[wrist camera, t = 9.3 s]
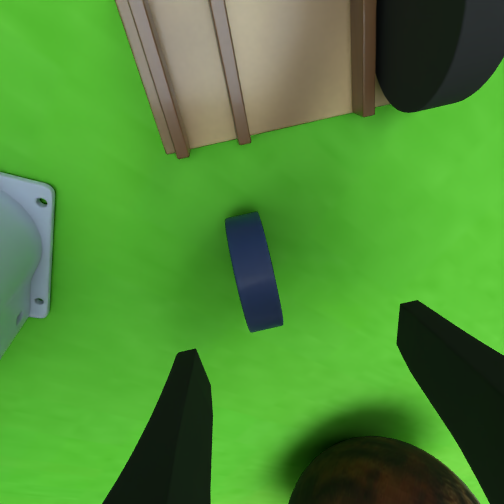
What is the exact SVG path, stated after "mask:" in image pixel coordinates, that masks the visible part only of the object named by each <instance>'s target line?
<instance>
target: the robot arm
mask: <svg viewBox="0 0 504 504" xmlns="http://www.w3.org/2000/svg"><path fill="white" fill-rule="evenodd" d="M39 198H43V199H45V200H46V201H47V204H43V203H42V202H41V201H40V199H39ZM54 207H55V191H54V189H53V188H52V187H51V186H50V185H48V184H46V183H42V182H38V181H34V180H30V179H26V178H22V177H18V176H14V175H10V174H6V173H2V172H0V359H1V357H2V356H3V354H4V353H5V351H6V350H7V348H8V347H9V345H10V344H11V342H12V341H13V339H14V338H15V336H16V335H17V333H18V332H19V330H20V329H21V327H22V326H23V324H24V323H25V321H26V320H27V318H28V317H34V318H45V317H46V316H47V315H48V313H49V311H50V291H51V270H52V249H53V228H54ZM38 298H40V299H42V300H43V301H41V300H39V299H38ZM397 346H398V348H399V350H400V352H401V354H402V356H403V358H404V360H405V362H406V364H407V366H408V368H409V370H410V372H411V373H412V375H413V376H414V378H415V380H416V381H417V383H418V384H419V386H420V387H421V389H422V390H423V392H424V393H425V395H426V396H427V398H428V399H429V401H430V402H431V404H432V405H433V407H434V408H435V410H436V411H437V413H438V414H439V416H440V417H441V419H442V420H443V422H444V423H445V425H446V426H447V428H448V429H449V431H450V432H451V434H452V436H453V437H454V439H455V440H456V442H457V444H458V445H459V447H460V449H461V451H462V452H463V454H464V456H465V458H466V460H467V462H468V463H469V465H470V467H471V469H472V471H473V473H474V474H475V476H476V478H477V480H478V482H479V484H480V486H481V488H482V489H483V491H484V493H485V495H486V497H487V499H488V501H489V503H490V504H504V355H502V354H500V353H498V352H497V351H495V350H494V349H492V348H490V347H489V346H487V345H485V344H484V343H482V342H480V341H479V340H477V339H476V338H474V337H473V336H471V335H469V334H468V333H466V332H465V331H463V330H462V329H460V328H459V327H457V326H455V325H454V324H452V323H451V322H449V321H448V320H446V319H445V318H443V317H442V316H440V315H439V314H438V313H436V312H435V311H433V310H432V309H430V308H429V307H427V306H426V305H424V304H423V303H421V302H420V301H418V300H416V301H411V302H407V303H402V304H400V311H399V322H398V333H397ZM212 426H213V410H212V396H211V385H210V382H209V380H208V377H207V375H206V372H205V370H204V367H203V365H202V362H201V360H200V358H199V355H198V353H197V350H196V349H192V350H187V351H182V352H179V353H178V354H177V355H176V358H175V360H174V363H173V366H172V368H171V371H170V374H169V376H168V379H167V381H166V384H165V386H164V388H163V391H162V393H161V395H160V398H159V400H158V402H157V404H156V407H155V409H154V411H153V413H152V415H151V417H150V420H149V422H148V424H147V426H146V428H145V430H144V432H143V434H142V435H141V437H140V439H139V441H138V443H137V445H136V447H135V449H134V451H133V453H132V455H131V456H130V458H129V460H128V462H127V464H126V465H125V467H124V469H123V471H122V472H121V474H120V476H119V477H118V479H117V481H116V482H115V484H114V486H113V487H112V489H111V490H110V492H109V494H108V495H107V497H106V498H105V500H104V501H103V503H102V504H210V484H211V456H212Z"/></svg>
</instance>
